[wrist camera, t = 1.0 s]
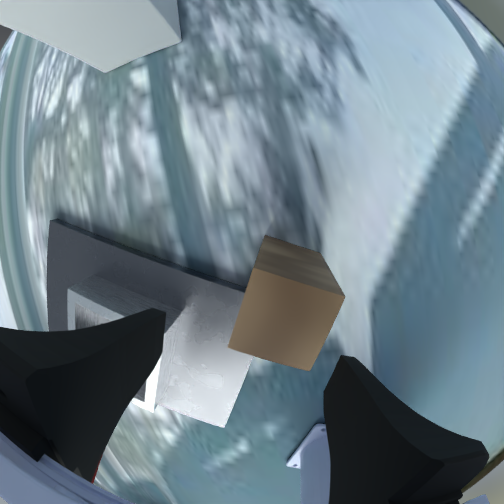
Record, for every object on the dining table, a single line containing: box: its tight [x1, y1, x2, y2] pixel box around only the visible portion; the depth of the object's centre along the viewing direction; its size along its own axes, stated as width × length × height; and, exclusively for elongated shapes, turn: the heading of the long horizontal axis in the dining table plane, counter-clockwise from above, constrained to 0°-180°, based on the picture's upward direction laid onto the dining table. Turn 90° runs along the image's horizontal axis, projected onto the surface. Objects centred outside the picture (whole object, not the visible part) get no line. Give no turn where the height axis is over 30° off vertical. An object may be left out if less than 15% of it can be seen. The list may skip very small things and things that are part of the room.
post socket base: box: [47, 219, 253, 428], centre depth 20 cm, size 20×14×4 cm
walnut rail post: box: [227, 235, 345, 371], centre depth 16 cm, size 4×4×8 cm
